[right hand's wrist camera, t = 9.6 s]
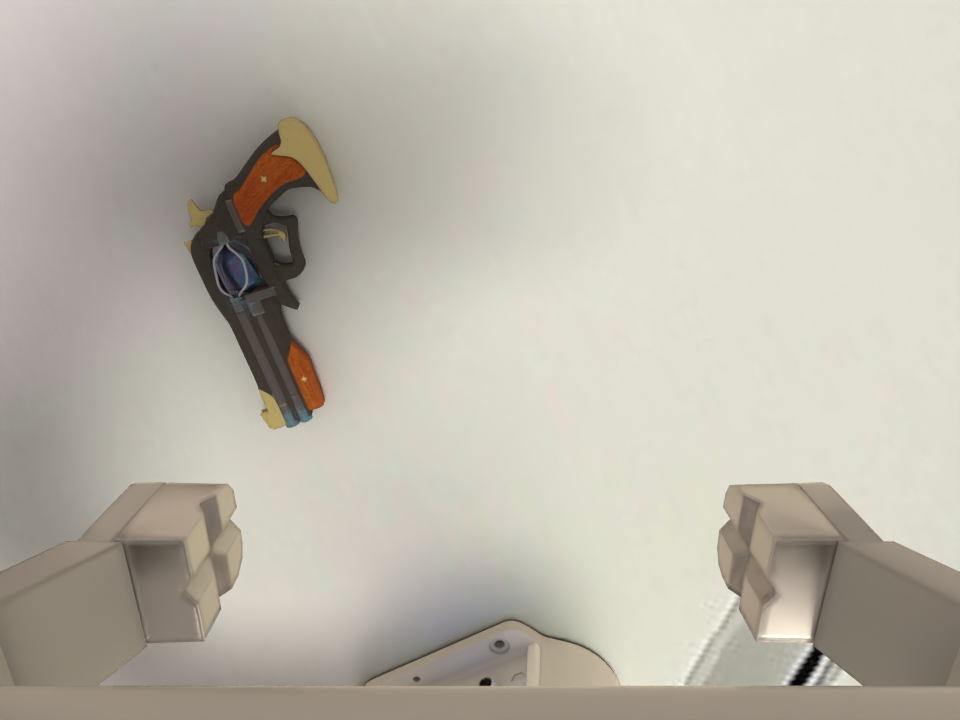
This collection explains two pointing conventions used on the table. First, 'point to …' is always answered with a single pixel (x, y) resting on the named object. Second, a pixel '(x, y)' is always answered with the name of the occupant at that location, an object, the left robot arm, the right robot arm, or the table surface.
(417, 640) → the table surface
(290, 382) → the toy gun
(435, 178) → the table surface
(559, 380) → the table surface
